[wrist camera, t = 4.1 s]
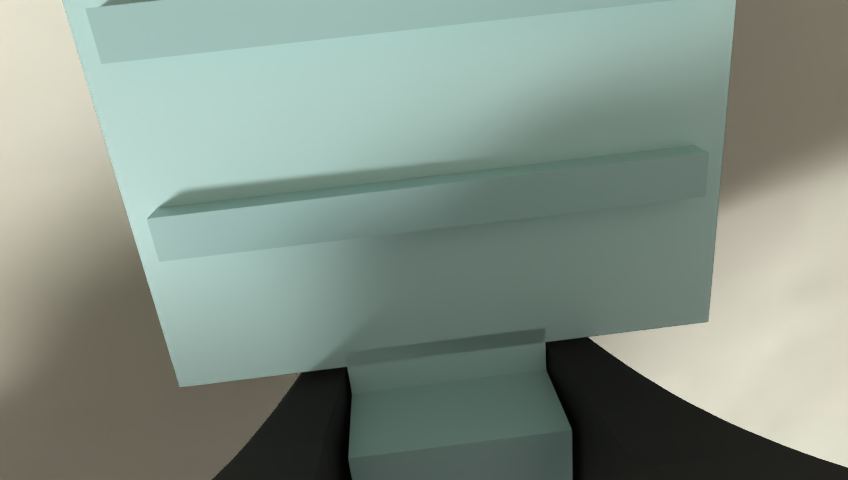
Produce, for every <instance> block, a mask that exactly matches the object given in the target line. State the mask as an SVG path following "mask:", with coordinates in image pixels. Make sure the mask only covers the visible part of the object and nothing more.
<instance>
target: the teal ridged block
mask: <svg viewBox="0 0 848 480" xmlns="http://www.w3.org/2000/svg"><path fill="white" fill-rule="evenodd" d="M62 2H63V5H64V8H65V12H66V15H67V18H68V22H69V25H70V28H71V31H72V35H73V38H74V41H75V45H76V48H77V51H78V54H79V58H80V61H81V64H82V68H83V71H84V74H85V78H86V81H87V84H88V87H89V91H90V94H91V97H92V101H93V104H94V107H95V110H96V114H97V117H98V120H99V124H100V127H101V130H102V133H103V137H104V140H105V143H106V147H107V150H108V153H109V157H110V160H111V163H112V166H113V170H114V173H115V176H116V180H117V183H118V186H119V189H120V193H121V196H122V199H123V203H124V206H125V209H126V212H127V216H128V219H129V222H130V226H131V229H132V232H133V236H134V239H135V242H136V245H137V249H138V252H139V255H140V259H141V262H142V265H143V268H144V272H145V275H146V278H147V282H148V285H149V288H150V291H151V295H152V298H153V301H154V305H155V308H156V311H157V315H158V318H159V321H160V324H161V328H162V331H163V334H164V338H165V341H166V344H167V347H168V351H169V354H170V357H171V361H172V364H173V367H174V370H175V374H176V377H177V380H178V384H179V387H187V386H195V385H203V384H212V383H220V382H228V381H236V380H244V379H252V378H260V377H268V376H276V375H284V374H292V373H300V372H308V371H316V370H324V369H332V368H340V367H347V369H348V374H349V380H350V386H351V391H352V402H351V419H350V436H349V453H348V460H349V466H350V471H351V476H352V480H573V473H572V429H571V426H570V424H569V422H568V419H567V417H566V415H565V412H564V410H563V408H562V405H561V403H560V401H559V398H558V396H557V394H556V391H555V389H554V387H553V384H552V382H551V380H550V377H549V375H548V373H547V370H546V346H545V342H550V341H558V340H566V339H574V338H582V337H590V336H598V335H606V334H614V333H622V332H630V331H638V330H647V329H655V328H663V327H671V326H679V325H687V324H695V323H703V322H708V319H709V308H710V296H711V285H712V273H713V262H714V250H715V239H716V227H717V216H718V204H719V193H720V181H721V169H722V158H723V146H724V135H725V123H726V112H727V100H728V89H729V77H730V66H731V54H732V43H733V31H734V19H735V8H736V0H62Z"/></svg>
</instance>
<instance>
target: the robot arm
mask: <svg viewBox="0 0 848 480" xmlns="http://www.w3.org/2000/svg"><path fill="white" fill-rule="evenodd" d="M545 346H546V370H547V373H548V375H549V377H550V380H551V382H552V384H553V387H554V389H555V391H556V394H557V396H558V398H559V401H560V403H561V405H562V408H563V410H564V412H565V415H566V417H567V419H568V422H569V424H570V426H571V429H572V473H573V480H848V468H847V467H844V466H841V465H838V464H835V463H832V462H828V461H825V460H822V459H819V458H816V457H814V456H811V455H808V454H805V453H802V452H800V451H797V450H794V449H791V448H789V447H786V446H783V445H781V444H779V443H776V442H774V441H771V440H769V439H766V438H764V437H761V436H759V435H757V434H754V433H752V432H749V431H747V430H744V429H742V428H740V427H738V426H735V425H733V424H731V423H729V422H727V421H724V420H722V419H720V418H718V417H716V416H714V415H712V414H710V413H708V412H706V411H704V410H702V409H700V408H698V407H696V406H694V405H692V404H690V403H689V402H687V401H685V400H683V399H681V398H679V397H678V396H676V395H674V394H672V393H670V392H669V391H667V390H665V389H664V388H662V387H661V386H659V385H657V384H656V383H654V382H652V381H651V380H649V379H647V378H646V377H644V376H642V375H641V374H639V373H638V372H636V371H635V370H633V369H632V368H630V367H629V366H627V365H626V364H624V363H623V362H621V361H620V360H618V359H617V358H616V357H614V356H613V355H611V354H610V353H608V352H607V351H606V350H604V349H603V348H602V347H600V346H599V345H597V344H596V343H595V342H593V341H592V340H591V339H589V338H588V337H582V338H574V339H566V340H558V341H550V342H545ZM351 402H352V391H351V386H350V380H349V374H348V369H347V367H340V368H332V369H324V370H316V371H308V372H301V374H300V375H299V377H298V378H297V380H296V381H295V382H294V384H293V385H292V387H291V388H290V389H289V391H288V392H287V394H286V395H285V396H284V398H283V399H282V400H281V402H280V403H279V404H278V406H277V407H276V409H275V410H274V411H273V412H272V414H271V415H270V416H269V418H268V419H267V420H266V421H265V422H264V424H263V425H262V426H261V427H260V428H259V430H258V431H257V432H256V433H255V434H254V436H253V437H252V438H251V439H250V440H249V442H248V443H247V444H246V445H245V446H244V447H243V449H242V450H241V451H240V452H239V453H238V454H237V455H236V456H235V457H234V458H233V460H232V461H231V462H230V463H229V464H228V465H227V466H226V467H225V468H224V469H222V470H221V471H220V472H219V473H218V474H217V475H216V476H215V477H214V478H213V479H212V480H352V476H351V471H350V466H349V460H348V453H349V436H350V419H351Z"/></svg>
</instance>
